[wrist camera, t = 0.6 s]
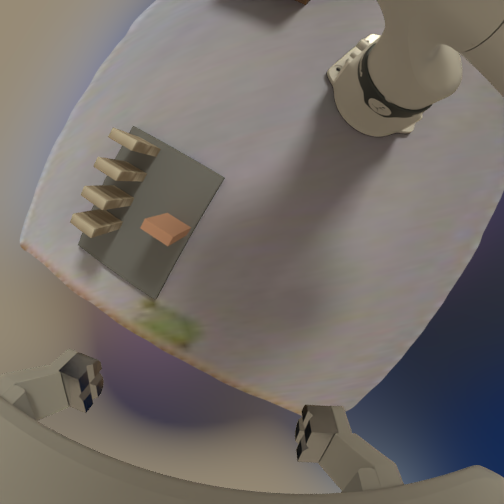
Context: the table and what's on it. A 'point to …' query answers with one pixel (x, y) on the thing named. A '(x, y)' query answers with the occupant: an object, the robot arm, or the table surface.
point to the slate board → (153, 214)
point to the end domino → (165, 228)
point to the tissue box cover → (303, 1)
